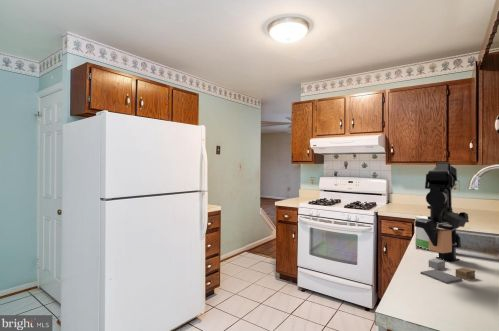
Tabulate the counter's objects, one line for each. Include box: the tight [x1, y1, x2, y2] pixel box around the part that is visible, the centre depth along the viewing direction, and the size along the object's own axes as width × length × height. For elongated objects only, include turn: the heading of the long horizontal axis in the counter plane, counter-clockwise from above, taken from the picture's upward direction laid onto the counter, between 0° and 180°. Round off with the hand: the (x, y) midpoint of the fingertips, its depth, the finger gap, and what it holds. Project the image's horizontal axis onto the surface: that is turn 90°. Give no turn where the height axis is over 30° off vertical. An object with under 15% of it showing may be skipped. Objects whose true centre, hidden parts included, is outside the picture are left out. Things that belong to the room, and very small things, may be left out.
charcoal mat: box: [420, 269, 463, 284], centre depth 101 cm, size 8×10×1 cm
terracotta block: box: [428, 228, 452, 254], centre depth 101 cm, size 5×5×8 cm
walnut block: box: [455, 267, 476, 281], centre depth 100 cm, size 5×4×3 cm
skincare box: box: [414, 215, 438, 250], centre depth 138 cm, size 8×7×16 cm
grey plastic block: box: [428, 258, 446, 270], centre depth 110 cm, size 5×4×3 cm
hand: (440, 245), depth 101 cm, fingers closed on terracotta block, 5 cm apart
